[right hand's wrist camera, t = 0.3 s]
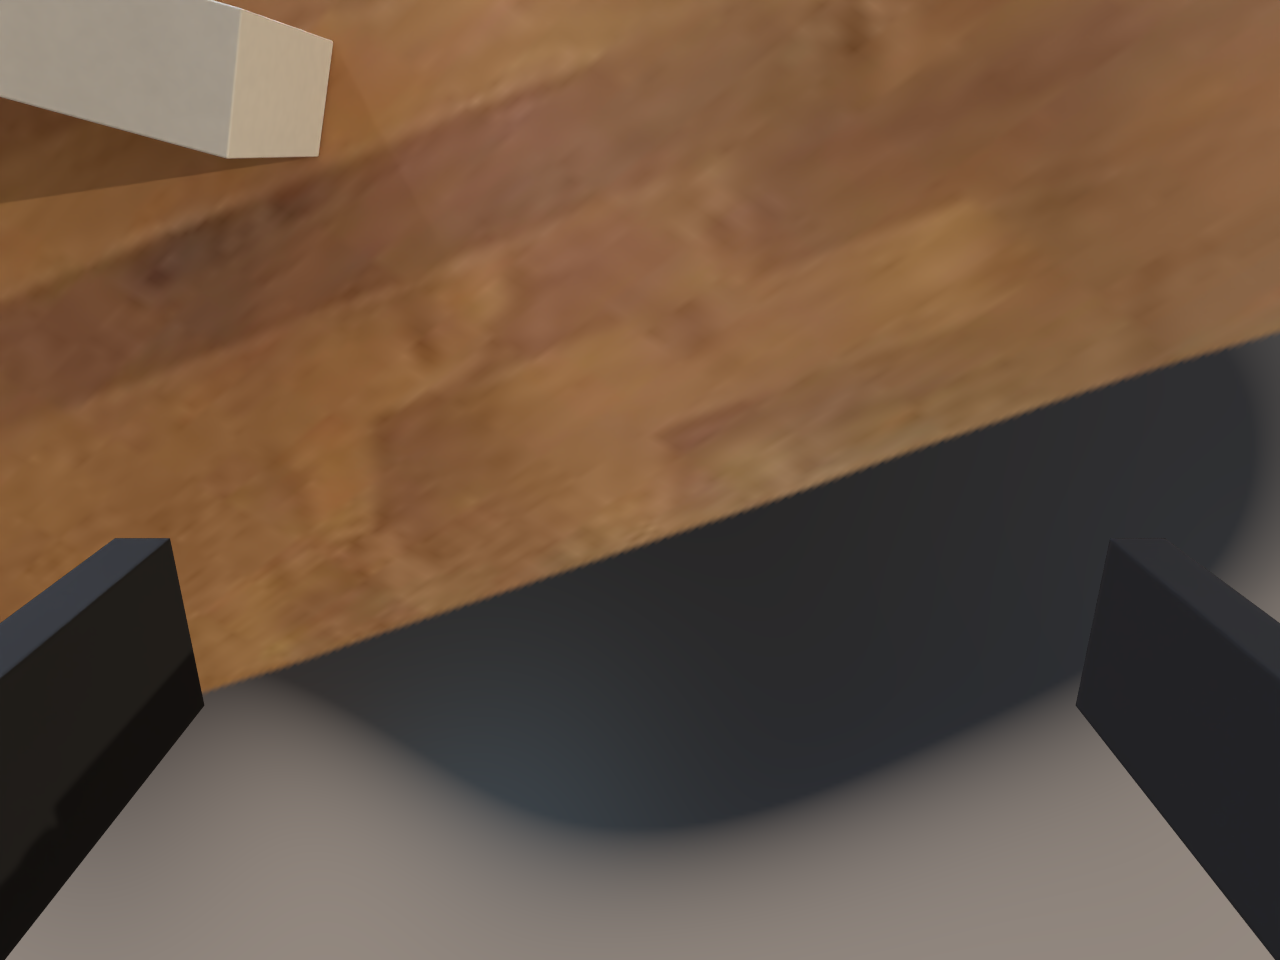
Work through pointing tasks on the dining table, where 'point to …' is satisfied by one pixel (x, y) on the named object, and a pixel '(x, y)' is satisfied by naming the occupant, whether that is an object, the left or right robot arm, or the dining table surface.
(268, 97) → the bar
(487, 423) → the dining table surface
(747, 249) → the dining table surface
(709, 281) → the dining table surface
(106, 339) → the dining table surface
